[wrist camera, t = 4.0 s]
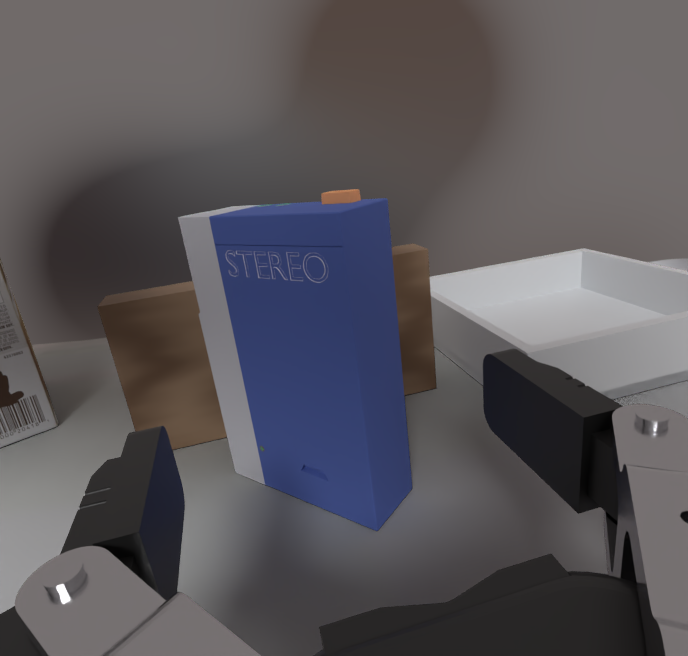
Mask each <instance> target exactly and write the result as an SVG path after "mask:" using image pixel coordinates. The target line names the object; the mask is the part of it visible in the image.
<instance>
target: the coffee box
mask: <svg viewBox="0 0 688 656" xmlns="http://www.w3.org/2000/svg"><path fill="white" fill-rule="evenodd" d="M58 425H59V424H58V419H57V417H56V414H55V411H54V408H53V405H52V402H51V399H50V396H49V394H48V391H47V388H46V385H45V382H44V379H43V377H42V374H41V371H40V368H39V365H38V362H37V360H36V357H35V354H34V351H33V348H32V345H31V343H30V340H29V337H28V334H27V331H26V329H25V326H24V323H23V320H22V317H21V315H20V312H19V309H18V306H17V304H16V301H15V298H14V295H13V292H12V290H11V287H10V284H9V281H8V278H7V276H6V273H5V270H4V267H3V264H2V262H1V259H0V448H1V447H4V446H7V445H9V444H12V443H15V442H17V441H20V440H23V439H25V438H28V437H31V436H33V435H36V434H39V433H41V432H44V431H47V430H49V429H52V428H54V427H57V426H58Z"/></svg>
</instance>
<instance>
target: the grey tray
mask: <svg viewBox="0 0 688 656" xmlns="http://www.w3.org/2000/svg"><path fill="white" fill-rule="evenodd" d="M430 292H431V308H432V325H433V341H434V346H435V347H436V348H437V349H438V350H440V351H441V352H442V353H443V354H444V355H446V356H447V357H448V358H449V359H451V360H452V361H453V362H454V363H456V364H457V365H458V366H459V367H460V368H462V369H463V370H464V371H465V372H467V373H468V374H469V375H470V376H472V377H473V378H474V379H475V380H476V381H478V382H479V383H480V384H481V385H483V360H484V357H485V356H486V355H487V354H490V353H495V352H499V351H504V350H508V349H517V350H519V351H520V352H522V353H524V354H525V355H527V356H529V357H530V358H532V359H534V360H535V361H537V362H540V363H543V364H547V365H550V366H553V367H557V368H559V369H561V370H562V371H564V372H566V373H567V374H569V375H571V376H572V377H573V379H575V378H576V379H578V380H579V381H581V382H583V383H584V384H585V386H589V387H591V388H593V389H595V390H596V391H598V392H600V393H601V394H603V395H605V396H606V397H608V398H610V399H611V400H612V399H616V398H620V397H624V396H628V395H632V394H635V393H639V392H643V391H647V390H651V389H655V388H659V387H663V386H666V385H670V384H674V383H678V382H682V381H686V380H688V271H684V270H679V269H675V268H670V267H666V266H661V265H657V264H652V263H648V262H643V261H638V260H634V259H629V258H625V257H620V256H616V255H611V254H607V253H602V252H597V251H593V250H588V249H578V250H573V251H567V252H562V253H556V254H551V255H546V256H540V257H535V258H529V259H524V260H519V261H514V262H508V263H503V264H498V265H492V266H486V267H481V268H476V269H470V270H465V271H460V272H454V273H449V274H443V275H438V276H433V277H430Z"/></svg>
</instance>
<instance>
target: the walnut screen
mask: <svg viewBox="0 0 688 656" xmlns="http://www.w3.org/2000/svg"><path fill="white" fill-rule="evenodd" d="M392 258H393V270H394V282H395V293H396V305H397V316H398V328H399V340H400V351H401V363H402V374H403V386H404V396H405V395H409V394H413V393H418V392H422V391H426V390H430V389H435V388H436V374H435V358H434V341H433V325H432V308H431V292H430V275H429V259H428V249H426V248H423V247H421V246H418V245H416V244H408V245H403V246H396V247H392ZM98 310H99V314H100V316H101V320H102V323H103V326H104V330H105V333H106V336H107V340H108V343H109V346H110V349H111V353H112V356H113V359H114V362H115V366H116V369H117V372H118V375H119V379H120V382H121V385H122V388H123V392H124V395H125V398H126V401H127V405H128V408H129V411H130V414H131V418H132V421H133V424H134V428H135V431H141V430H145V429H150V428H154V427H159V426H164V427H165V428H166V431H167V433H168V436H169V440H170V444H171V447H172V450H174V449H178V448H183V447H187V446H191V445H195V444H200V443H204V442H208V441H212V440H217V439H221V438H225V437H227V434H226V430H225V426H224V421H223V417H222V413H221V408H220V404H219V400H218V396H217V391H216V387H215V383H214V378H213V374H212V370H211V366H210V361H209V357H208V353H207V348H206V344H205V340H204V336H203V331H202V327H201V323H200V318H199V313H200V309H199V305H198V301H197V296H196V292H195V288H194V284H193V281H191V282H185V283H179V284H173V285H168V286H161V287H155V288H150V289H144V290H138V291H133V292H126V293H120V294H114V295H109V296H106V297H105V298H104V299H103V301H102V302H101V303H100V304H99V305H98Z"/></svg>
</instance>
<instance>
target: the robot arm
mask: <svg viewBox="0 0 688 656" xmlns="http://www.w3.org/2000/svg"><path fill="white" fill-rule="evenodd" d="M483 397H484V413H485V417H486V420H487V423H488V425H489V427H490V428H491V430H492V431H493V432H494V433H495V434H496V435H497V436H498V437H499V438H500V439H501V440H502V441H503V442H504V443H505V444H506V445H507V446H508V447H509V448H510V449H511V450H513V451H514V452H515V453H516V454H517V455H518V456H519V457H520V458H521V459H522V460H523V461H524V462H525V463H526V464H527V465H528V466H529V467H530V468H531V469H532V470H533V471H534V472H535V473H537V474H538V475H539V476H540V477H541V478H542V479H543V480H544V481H545V482H546V483H547V484H548V485H549V486H550V487H551V488H552V489H553V490H554V491H555V492H556V493H557V494H558V495H559V496H561V497H562V498H563V499H564V500H565V501H566V502H567V503H568V504H569V505H570V506H571V507H572V508H573V509H574V510H575V511H576V512H577V513H582V512H585V511H588V510H592V509H595V508H598V507H601V508H603V509H604V523H603V526H604V537H605V548H606V560H607V571H608V575H605V574H600V573H592V572H577V571H570V572H567V571H566V570H565V569H564V568H563V567H562V566H561V564H560V563H559V562H558V561H557V560H556V559H555V558H554V556H553V555H552V554H548V555H545V556H542V557H539V558H536V559H532V560H529V561H526V562H523V563H520V564H517V565H513V566H510V567H507V568H504V569H501V570H498V571H496V572H495V573H493V574H492V575H490V576H489V577H487V578H486V579H484V580H482V581H481V582H479V583H478V584H476V585H475V586H473V587H472V588H470V589H469V590H467V591H465V592H464V593H462V594H461V595H459V596H458V597H456V598H455V599H453V600H451V601H449V602H445V603H436V604H423V605H409V606H396V607H382V608H378V609H375V610H371V611H368V612H365V613H362V614H359V615H356V616H352V617H349V618H346V619H343V620H340V621H337V622H333V623H330V624H327V625H324V626H321V627H319V629H320V634H321V640H322V645H323V650H321V651H320V652H318V653H317V654H315V655H314V656H688V419H687V418H686V417H685V416H683V415H681V414H680V413H678V412H675V411H673V410H670V409H667V408H664V407H660V406H654V405H647V404H633V405H627V406H622V405H620V404H618V403H617V402H615V401H613V400H611V399H610V398H608V397H606V396H605V395H603V394H601V393H600V392H598V391H596V390H595V389H593V388H591V387H589V386H585V384H584V383H583V382H581V381H579V380H578V379H576V378H575V379H573V377H572V376H571V375H569V374H567V373H566V372H564V371H562V370H561V369H559V368H557V367H553V366H550V365H547V364H543V363H540V362H537V361H535V360H534V359H532V358H530V357H529V356H527V355H525V354H524V353H522V352H520V351H519V350H517V349H508V350H504V351H499V352H495V353H490V354H487V355H486V356H485V357H484V360H483ZM79 507H80V510H78V511H77V514H76V516H75V519H74V521H73V524H72V526H71V529H70V531H69V534H68V536H67V539H66V541H65V544H64V546H63V549H62V551H61V554H60V555H58V556H56V557H54V558H53V559H51V560H49V561H48V562H46V563H45V564H44V565H42V566H41V567H39V568H38V569H37V570H36V571H35V572H34V573H33V574H32V575H31V576H30V577H29V578H28V579H27V580H26V581H25V582H24V584H23V585H22V587H21V588H20V590H19V591H18V594H17V596H16V600H15V606H14V607H12V608H11V609H9V610H7V611H5V612H3V613H2V614H0V656H261V655H260V654H258V653H257V652H256V651H255V650H254V649H252V648H251V647H250V646H249V645H247V644H246V643H245V642H244V641H242V640H241V639H240V638H239V637H238V636H236V635H235V634H234V633H233V632H231V631H230V630H229V629H228V628H226V627H225V626H224V625H223V624H222V623H220V622H219V621H218V620H217V619H215V618H214V617H213V616H212V615H210V614H209V613H208V612H207V611H206V610H204V609H203V608H202V607H201V606H199V605H198V604H197V603H196V602H194V601H193V600H192V599H191V598H190V597H188V596H187V595H185V594H183V593H181V592H177V586H178V575H179V564H180V554H181V543H182V532H183V521H184V509H185V504H184V493H183V487H182V483H181V479H180V476H179V472H178V468H177V465H176V461H175V458H174V454H173V451H172V447H171V444H170V440H169V436H168V433H167V431H166V428H165V427H164V426H159V427H154V428H150V429H145V430H141V431H136V432H132V433H129V434H128V436H127V439H126V442H125V446H124V449H123V452H122V455H121V457H119V458H115V459H110V460H107V461H106V462H105V463H104V464H103V465H102V466H101V467H100V468H99V469H98V470H97V471H96V472H95V473H94V474H93V475H92V476H91V479H90V481H89V484H88V486H87V489H86V491H85V496H83V499H82V501H81V504H80V506H79Z"/></svg>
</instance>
